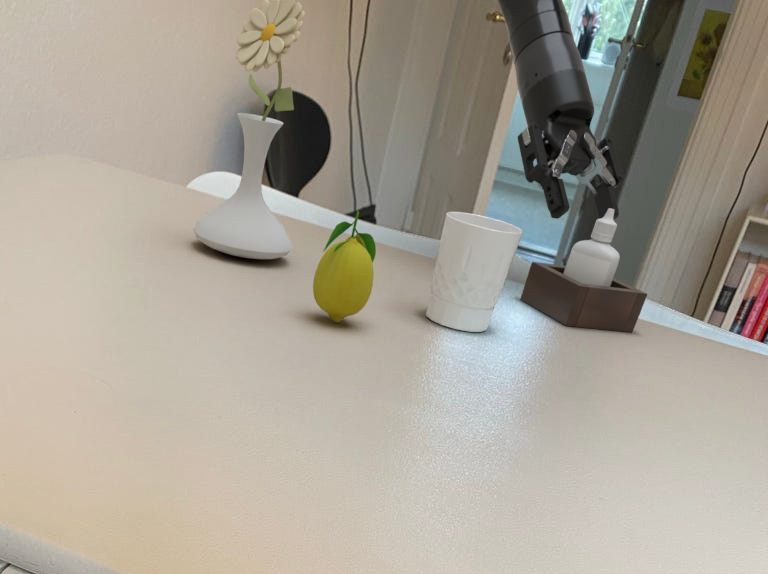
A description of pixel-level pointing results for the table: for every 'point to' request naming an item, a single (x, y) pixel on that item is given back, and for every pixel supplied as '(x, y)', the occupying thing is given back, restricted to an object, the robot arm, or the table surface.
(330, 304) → the lemon
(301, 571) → the table surface
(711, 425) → the table surface
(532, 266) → the holder
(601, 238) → the eye dropper bottle
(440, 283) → the white cup
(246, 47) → the flower in vase
